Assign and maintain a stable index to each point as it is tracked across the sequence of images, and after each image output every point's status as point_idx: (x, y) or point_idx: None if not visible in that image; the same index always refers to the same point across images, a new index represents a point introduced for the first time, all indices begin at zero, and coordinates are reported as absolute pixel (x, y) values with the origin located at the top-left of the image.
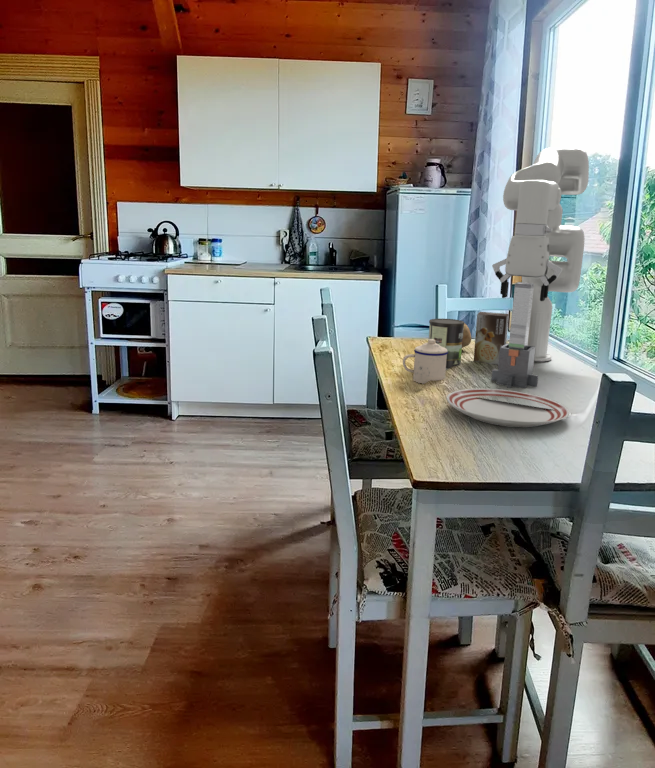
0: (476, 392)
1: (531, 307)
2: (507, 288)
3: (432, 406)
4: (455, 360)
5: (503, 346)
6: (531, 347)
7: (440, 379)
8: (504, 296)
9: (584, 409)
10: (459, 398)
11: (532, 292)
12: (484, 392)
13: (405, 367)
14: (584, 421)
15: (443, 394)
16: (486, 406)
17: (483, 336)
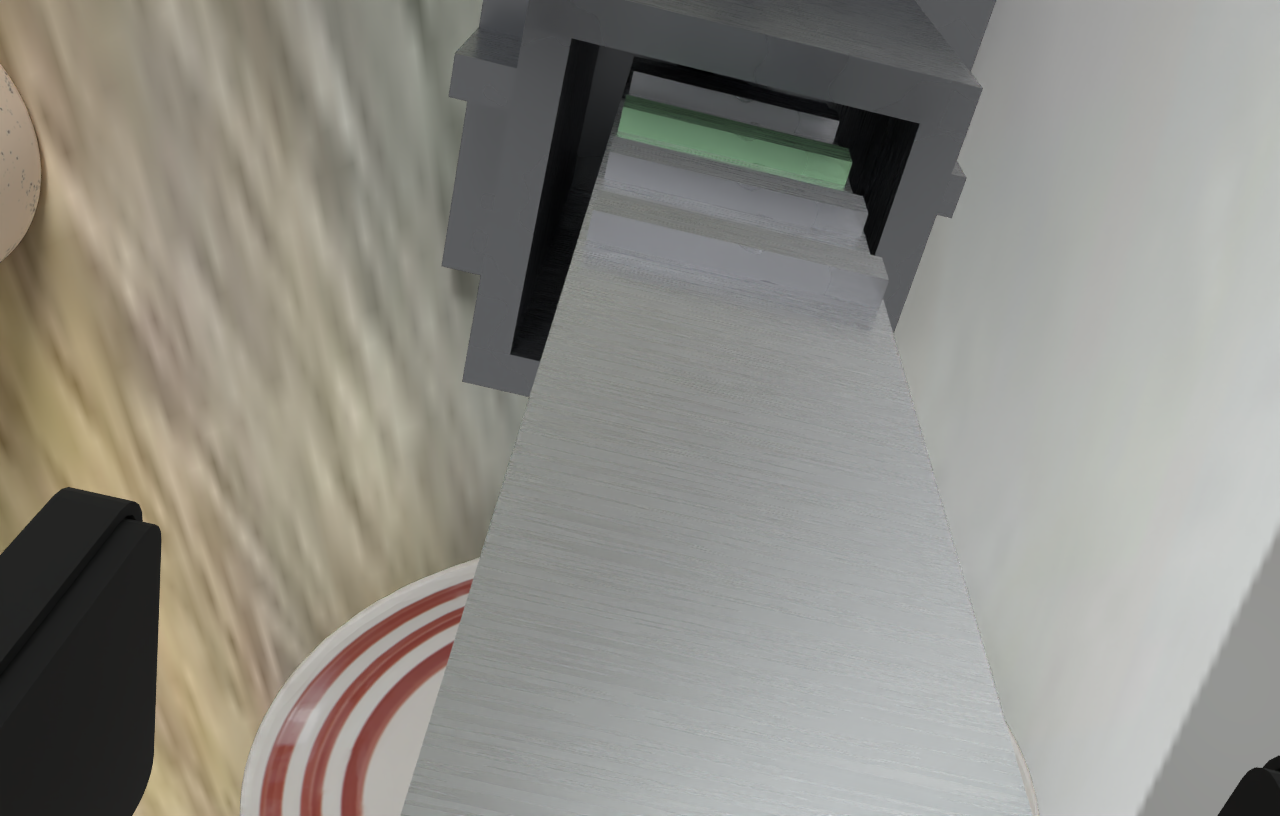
0: (405, 624)
1: (935, 504)
2: (18, 799)
3: (184, 779)
4: None
5: (500, 280)
6: (904, 197)
7: (6, 247)
8: (128, 801)
9: (1230, 570)
10: (318, 765)
11: None
12: (463, 599)
13: None
14: (1132, 808)
15: (161, 509)
16: None
17: None
